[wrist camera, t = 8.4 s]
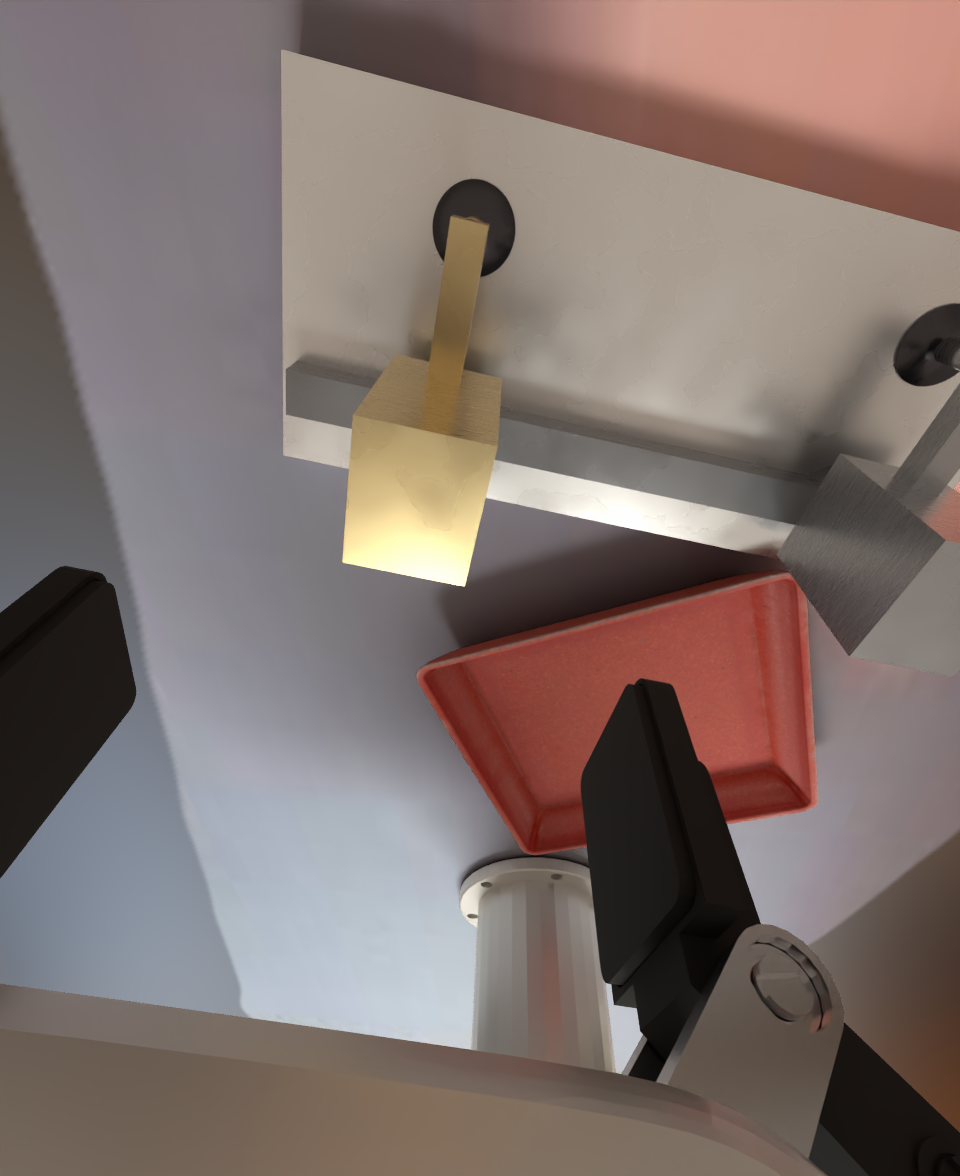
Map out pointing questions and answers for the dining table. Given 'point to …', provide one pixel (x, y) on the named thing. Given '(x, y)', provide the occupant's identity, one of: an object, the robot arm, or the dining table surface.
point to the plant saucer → (620, 657)
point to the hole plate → (643, 340)
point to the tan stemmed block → (427, 440)
